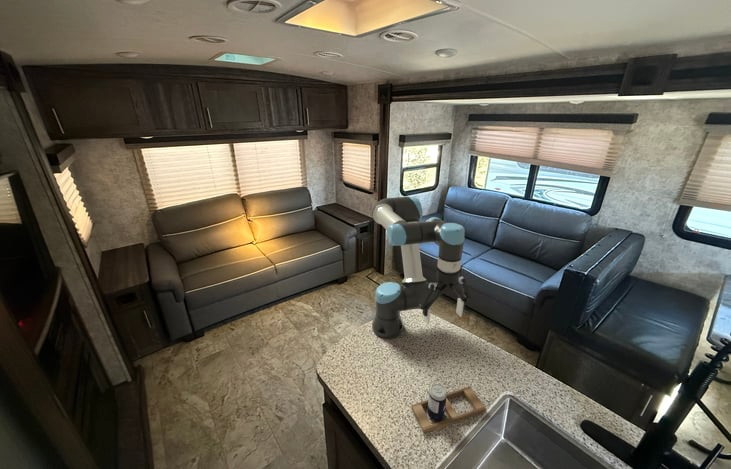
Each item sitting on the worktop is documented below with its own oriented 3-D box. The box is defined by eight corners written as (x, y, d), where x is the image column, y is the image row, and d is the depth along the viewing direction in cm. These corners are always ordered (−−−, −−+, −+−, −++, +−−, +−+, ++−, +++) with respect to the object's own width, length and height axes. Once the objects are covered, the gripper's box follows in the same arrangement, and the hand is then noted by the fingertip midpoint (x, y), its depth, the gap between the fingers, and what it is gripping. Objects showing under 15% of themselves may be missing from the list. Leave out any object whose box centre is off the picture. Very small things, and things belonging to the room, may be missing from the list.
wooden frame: (411, 408, 101) (411, 405, 100) (469, 390, 107) (469, 386, 106) (423, 434, 93) (423, 430, 92) (485, 412, 99) (486, 408, 98)
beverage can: (444, 424, 95) (447, 399, 91) (427, 421, 96) (429, 396, 92) (443, 408, 101) (446, 384, 96) (427, 405, 102) (429, 381, 97)
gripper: (420, 280, 90) (417, 332, 98) (486, 267, 96) (478, 317, 105) (410, 268, 96) (407, 318, 105) (472, 257, 103) (465, 305, 111)
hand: (442, 318), depth 105 cm, fingers open, 13 cm apart
